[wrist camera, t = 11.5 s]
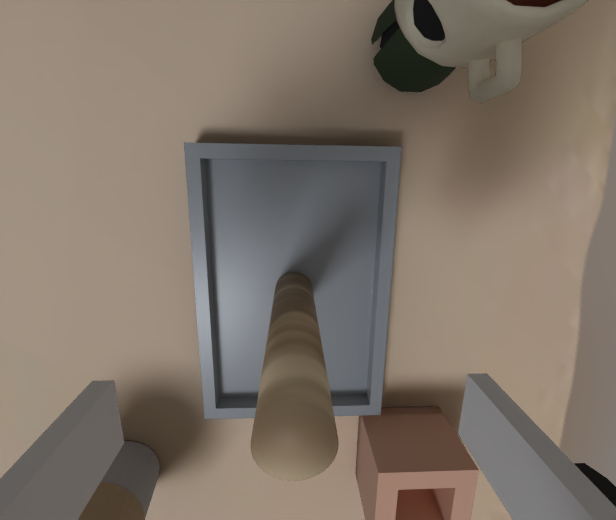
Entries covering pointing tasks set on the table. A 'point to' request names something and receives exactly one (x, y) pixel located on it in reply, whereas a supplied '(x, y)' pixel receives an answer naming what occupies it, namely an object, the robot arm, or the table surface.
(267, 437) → the dowel
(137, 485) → the coffee cup
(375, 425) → the pink square tube
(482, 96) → the character mug
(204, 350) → the tray
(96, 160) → the table surface
